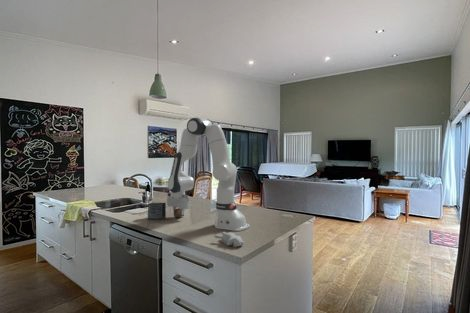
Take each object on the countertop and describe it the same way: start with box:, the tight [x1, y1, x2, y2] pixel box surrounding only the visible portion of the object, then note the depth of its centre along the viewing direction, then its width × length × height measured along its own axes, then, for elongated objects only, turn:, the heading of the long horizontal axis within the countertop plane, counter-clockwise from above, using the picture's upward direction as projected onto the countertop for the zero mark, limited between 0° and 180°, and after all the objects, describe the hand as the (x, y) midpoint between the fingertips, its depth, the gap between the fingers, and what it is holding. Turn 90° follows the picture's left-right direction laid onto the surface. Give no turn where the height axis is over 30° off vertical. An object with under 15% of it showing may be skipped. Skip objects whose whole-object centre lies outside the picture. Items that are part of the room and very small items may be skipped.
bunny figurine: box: [214, 231, 245, 248], centre depth 134 cm, size 10×5×15 cm
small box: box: [147, 202, 167, 221], centre depth 183 cm, size 11×6×10 cm, turn 84°
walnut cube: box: [173, 207, 185, 218], centre depth 186 cm, size 5×5×5 cm
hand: (178, 213), depth 186 cm, fingers closed on walnut cube, 5 cm apart
